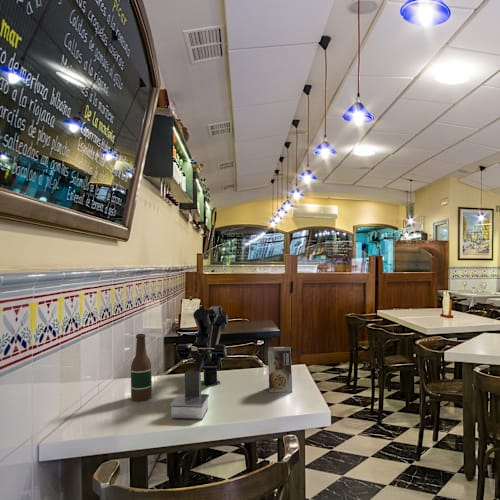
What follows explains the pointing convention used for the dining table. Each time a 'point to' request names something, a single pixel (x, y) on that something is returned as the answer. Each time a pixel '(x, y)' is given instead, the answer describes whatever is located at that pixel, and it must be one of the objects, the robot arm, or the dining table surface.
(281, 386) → the grey printed box
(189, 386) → the lid
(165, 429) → the dining table surface
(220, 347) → the robot arm
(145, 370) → the beer bottle
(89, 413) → the dining table surface
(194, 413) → the white flat block
